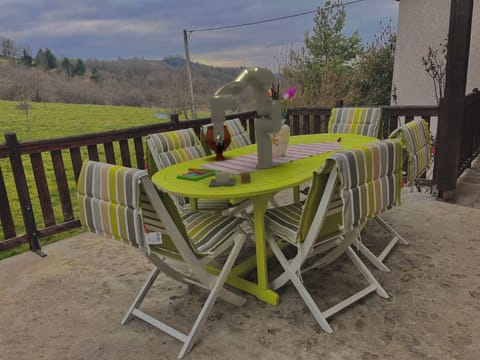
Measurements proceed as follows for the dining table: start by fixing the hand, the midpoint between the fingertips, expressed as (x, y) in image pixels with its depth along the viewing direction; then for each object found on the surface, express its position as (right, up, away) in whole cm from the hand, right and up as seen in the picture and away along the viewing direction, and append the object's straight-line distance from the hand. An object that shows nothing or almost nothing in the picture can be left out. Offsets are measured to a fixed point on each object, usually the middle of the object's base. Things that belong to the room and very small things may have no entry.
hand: (220, 151), depth 202 cm
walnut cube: (+14, -17, +4) cm, 22 cm away
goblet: (-5, -1, +73) cm, 73 cm away
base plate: (+1, -18, +4) cm, 18 cm away
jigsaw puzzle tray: (-18, -13, +29) cm, 36 cm away
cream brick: (+1, -17, +4) cm, 17 cm away
